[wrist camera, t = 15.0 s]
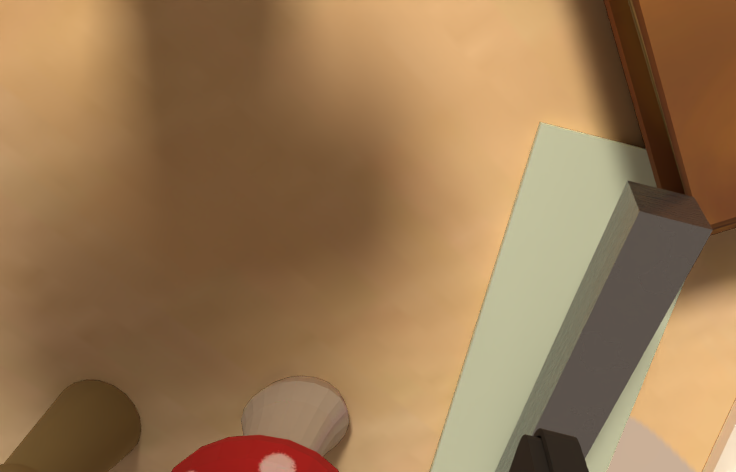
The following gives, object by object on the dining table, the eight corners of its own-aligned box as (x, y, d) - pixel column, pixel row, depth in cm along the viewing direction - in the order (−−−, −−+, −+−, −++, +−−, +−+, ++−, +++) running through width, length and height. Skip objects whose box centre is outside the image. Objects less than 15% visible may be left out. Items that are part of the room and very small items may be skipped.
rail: (627, 180, 29) (639, 211, 26) (694, 196, 29) (712, 230, 26) (486, 489, 40) (485, 532, 38) (533, 503, 40) (535, 546, 38)
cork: (157, 442, 43) (63, 566, 33) (86, 471, 45) (-27, 600, 34) (110, 366, 42) (-4, 469, 32) (38, 398, 43) (-94, 508, 33)
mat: (539, 121, 35) (541, 122, 34) (725, 169, 34) (730, 171, 34) (424, 487, 42) (423, 493, 41) (577, 531, 41) (578, 538, 40)
